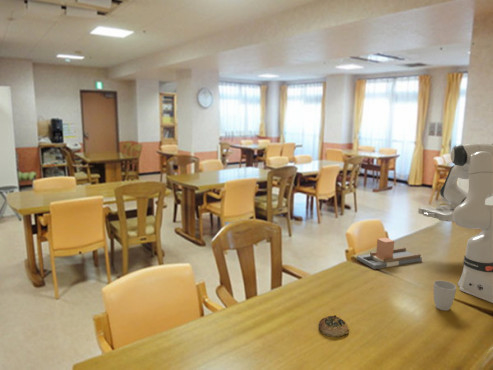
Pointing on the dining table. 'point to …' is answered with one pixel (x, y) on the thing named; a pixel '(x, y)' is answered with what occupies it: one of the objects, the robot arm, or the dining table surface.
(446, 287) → the cup
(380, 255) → the block
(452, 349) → the dining table surface
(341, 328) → the bread roll
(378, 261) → the tray
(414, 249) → the dining table surface
